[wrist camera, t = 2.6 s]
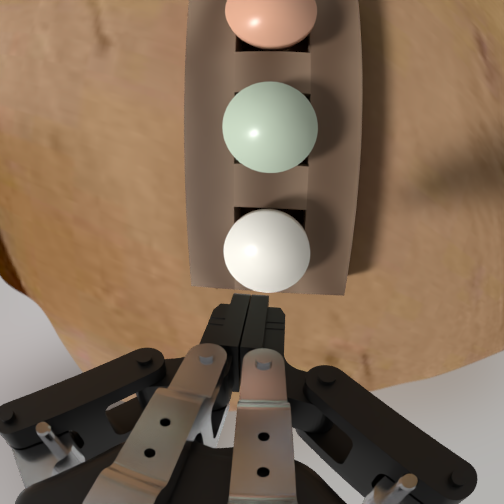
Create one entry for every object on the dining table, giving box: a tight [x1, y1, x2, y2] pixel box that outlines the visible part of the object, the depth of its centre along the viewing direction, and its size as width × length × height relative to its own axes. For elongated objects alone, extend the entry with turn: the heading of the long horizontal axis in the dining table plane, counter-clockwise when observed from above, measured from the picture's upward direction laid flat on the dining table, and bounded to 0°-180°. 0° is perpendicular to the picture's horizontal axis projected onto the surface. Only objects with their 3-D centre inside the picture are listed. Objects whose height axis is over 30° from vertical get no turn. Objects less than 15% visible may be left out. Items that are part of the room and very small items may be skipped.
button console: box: [184, 0, 362, 295], centre depth 20 cm, size 12×24×3 cm, turn 179°
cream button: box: [224, 209, 310, 293], centre depth 21 cm, size 6×6×3 cm
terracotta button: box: [225, 0, 317, 51], centre depth 15 cm, size 6×6×3 cm
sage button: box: [222, 81, 318, 173], centre depth 18 cm, size 6×6×3 cm
